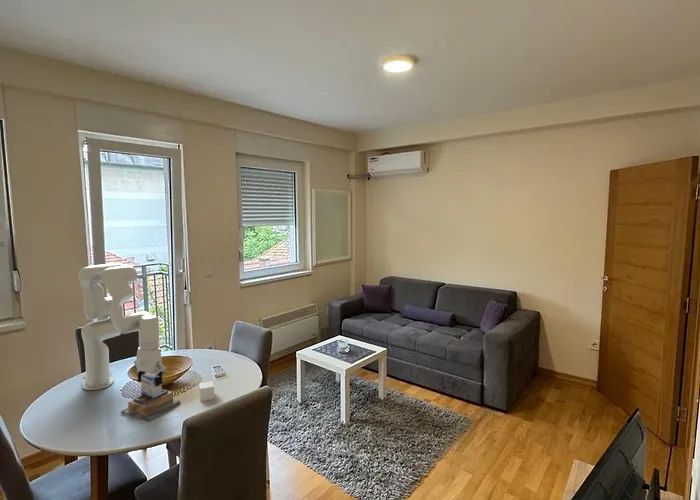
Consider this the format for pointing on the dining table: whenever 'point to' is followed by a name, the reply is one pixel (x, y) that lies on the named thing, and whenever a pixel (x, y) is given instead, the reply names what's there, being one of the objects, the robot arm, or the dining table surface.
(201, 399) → the white cube
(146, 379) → the medicine box
